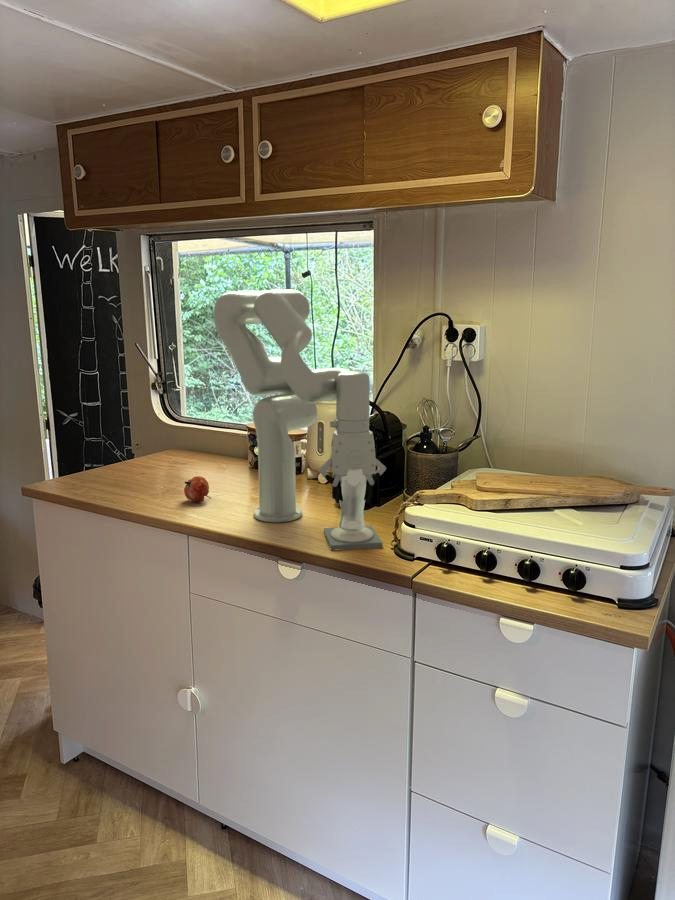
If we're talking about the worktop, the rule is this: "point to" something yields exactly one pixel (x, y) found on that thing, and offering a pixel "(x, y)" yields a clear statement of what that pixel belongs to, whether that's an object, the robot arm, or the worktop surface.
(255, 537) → the worktop surface
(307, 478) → the worktop surface
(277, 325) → the robot arm
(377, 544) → the coaster board
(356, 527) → the beer glass
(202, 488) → the pomegranate
